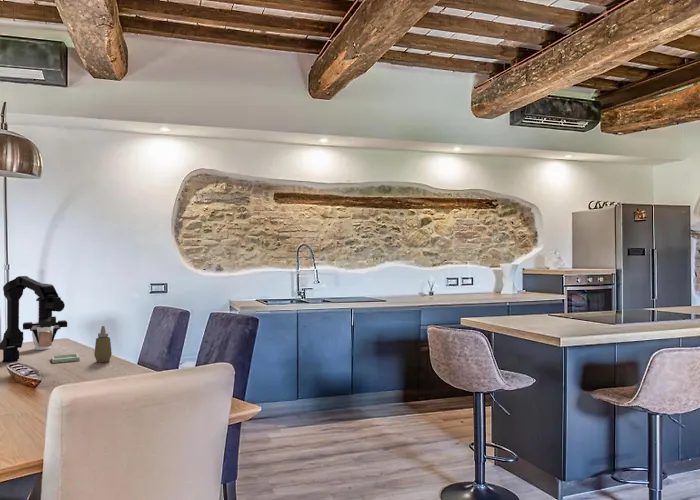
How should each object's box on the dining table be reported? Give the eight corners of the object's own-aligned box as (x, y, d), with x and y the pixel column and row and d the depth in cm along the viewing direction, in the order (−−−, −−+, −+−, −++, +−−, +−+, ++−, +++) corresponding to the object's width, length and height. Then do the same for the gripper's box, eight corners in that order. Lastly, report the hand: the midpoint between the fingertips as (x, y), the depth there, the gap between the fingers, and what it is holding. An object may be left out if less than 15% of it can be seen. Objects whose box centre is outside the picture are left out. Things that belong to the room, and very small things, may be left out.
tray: (52, 363, 267) (52, 359, 267) (51, 359, 277) (51, 355, 277) (79, 360, 273) (79, 357, 273) (77, 356, 284) (77, 353, 284)
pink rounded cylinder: (38, 347, 257) (38, 332, 257) (38, 345, 262) (38, 331, 262) (51, 346, 260) (52, 331, 260) (51, 344, 265) (51, 330, 265)
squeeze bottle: (90, 362, 270) (90, 326, 270) (104, 359, 277) (104, 324, 277) (101, 363, 266) (101, 327, 266) (115, 360, 273) (115, 325, 274)
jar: (46, 350, 301) (46, 323, 301) (27, 350, 301) (28, 323, 301) (56, 347, 312) (56, 321, 312) (39, 347, 312) (39, 321, 312)
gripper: (22, 313, 249) (22, 346, 249) (68, 311, 259) (67, 343, 259) (23, 310, 259) (22, 343, 259) (66, 308, 268) (66, 340, 268)
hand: (45, 342), depth 261 cm, fingers closed on pink rounded cylinder, 6 cm apart
